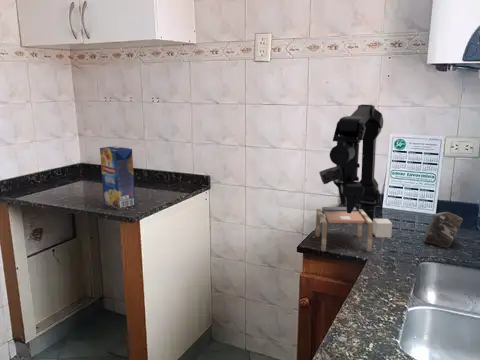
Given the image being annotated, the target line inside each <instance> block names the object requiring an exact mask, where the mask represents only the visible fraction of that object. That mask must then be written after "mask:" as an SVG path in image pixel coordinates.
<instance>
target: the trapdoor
mask: <svg viewBox="0 0 480 360" xmlns="http://www.w3.org/2000/svg"><path fill="white" fill-rule="evenodd" d="M321 211H347V209H346V206H322V207H321ZM352 211H358V210H357V208H356V206H355V207H354V208H353V210H352ZM323 215H324V217H325V219H326V221H327V223H329V224H358V223H362V224H366V222H365V220H364V219H363V218H362V216H361V215H360V214H359V212H351V213H347V212H324V213H323Z"/></svg>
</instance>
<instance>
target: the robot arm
mask: <svg viewBox="0 0 480 360" xmlns="http://www.w3.org/2000/svg"><path fill="white" fill-rule="evenodd" d="M383 126H384V118H383V114H382V112H380V111H379V110H378V109H376V108H375V105H372V104H358V106H357V109H355V110H354V112H352V114H351V115H347V116H342V117H340V118H339V120H338V121H337V123H336V126H335V129H334V135H333V137H332V142H336V145H335V146H333V147H332V148H331V149H330V151H329V159H330V161H331V163H333V164H334V165H335V166H333V167H329V168H326V169H323V170H320V171H318V172H319V173H318V174H319V177H320V179H321V182H322V184H323V185H327V184H329V183H333V184H334V185H335V186H336V187H337V189H338V194H339V200H340V205H341V206H343V205H345V207H346V209H347V213H351V212H352V210H353V208H354V207H355V208H356V205H359V207H358V210H359V209H363V211H364V212H365V213H366V214H367V216H368V217H369V218H370V219H371V220H372V222H373V219H377V218H376V216H375V215H376V207H380V206H382V196H381V195H382V194H381V191H380V190H379V182H377V180H376V178H375V166H376V148H377V138H378V136H379V135H380V133H382V129H383ZM361 142H362V146H361V147H362V150H361V151H362V152H361V153H362V154H361V165H360V163H359V155H360V154H359V153H360V152H359V151H360V143H361ZM360 166H361V175H360V177H361V179H360V177H359V176H358V170H359V168H360ZM363 219H364V218H363ZM365 223H367V222H366V221H365Z"/></svg>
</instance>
